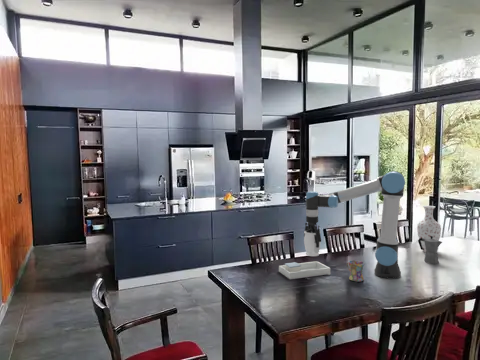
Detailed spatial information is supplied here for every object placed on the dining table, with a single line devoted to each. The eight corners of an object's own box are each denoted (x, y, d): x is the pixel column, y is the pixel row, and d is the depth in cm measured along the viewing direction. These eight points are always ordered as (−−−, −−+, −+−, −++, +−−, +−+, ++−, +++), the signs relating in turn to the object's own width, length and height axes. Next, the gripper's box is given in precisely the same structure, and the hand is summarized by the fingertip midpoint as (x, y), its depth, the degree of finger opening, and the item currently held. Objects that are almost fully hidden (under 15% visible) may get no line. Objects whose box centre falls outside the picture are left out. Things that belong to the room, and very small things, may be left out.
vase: (441, 250, 270) (441, 205, 268) (440, 255, 257) (440, 208, 255) (418, 247, 279) (418, 204, 277) (416, 252, 265) (416, 207, 263)
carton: (300, 275, 215) (300, 266, 215) (290, 276, 213) (290, 267, 213) (295, 271, 222) (295, 263, 221) (285, 273, 220) (285, 264, 219)
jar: (320, 257, 215) (320, 233, 214) (304, 256, 217) (303, 233, 216) (320, 252, 225) (320, 230, 224) (304, 252, 227) (304, 229, 226)
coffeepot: (444, 262, 239) (444, 236, 238) (439, 265, 233) (439, 238, 232) (420, 257, 250) (420, 233, 249) (415, 260, 244) (415, 235, 243)
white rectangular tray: (330, 275, 216) (330, 268, 216) (289, 280, 208) (289, 273, 208) (317, 267, 232) (317, 261, 231) (278, 272, 223) (278, 265, 223)
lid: (301, 266, 215) (301, 265, 215) (289, 267, 212) (289, 266, 212) (295, 263, 222) (295, 262, 222) (284, 264, 219) (284, 263, 219)
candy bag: (368, 280, 205) (368, 263, 204) (356, 283, 200) (356, 265, 200) (352, 275, 215) (352, 258, 215) (341, 278, 211) (341, 260, 210)
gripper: (298, 213, 230) (298, 246, 231) (316, 219, 208) (316, 255, 209) (308, 213, 232) (308, 245, 233) (327, 218, 210) (327, 254, 211)
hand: (312, 250), depth 221 cm, fingers closed on jar, 10 cm apart
